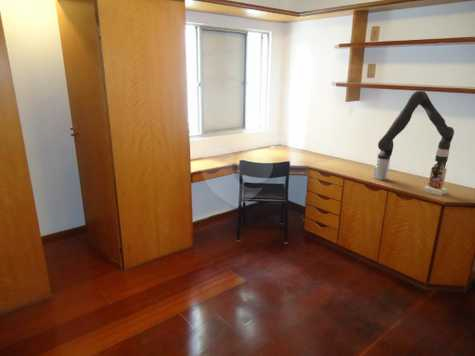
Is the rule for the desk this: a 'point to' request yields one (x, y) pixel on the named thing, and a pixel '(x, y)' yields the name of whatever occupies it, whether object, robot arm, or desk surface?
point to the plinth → (434, 190)
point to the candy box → (437, 179)
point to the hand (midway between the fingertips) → (437, 176)
